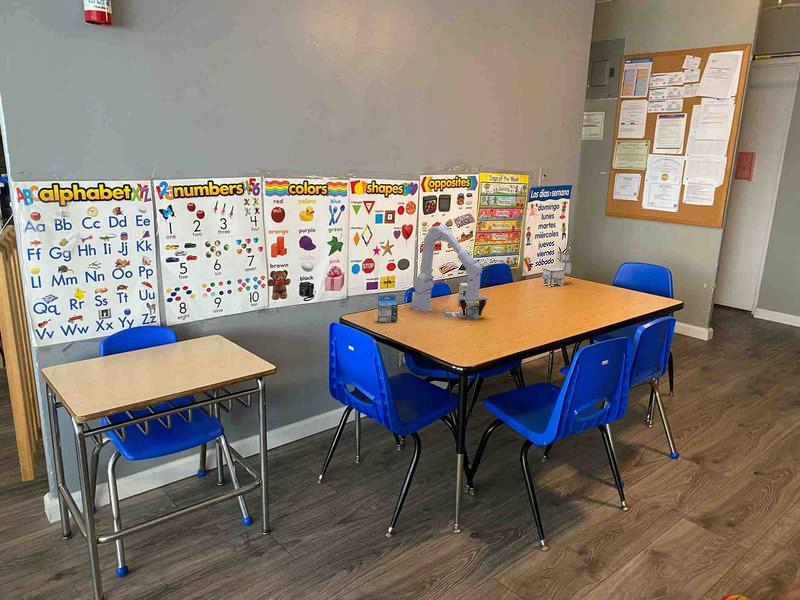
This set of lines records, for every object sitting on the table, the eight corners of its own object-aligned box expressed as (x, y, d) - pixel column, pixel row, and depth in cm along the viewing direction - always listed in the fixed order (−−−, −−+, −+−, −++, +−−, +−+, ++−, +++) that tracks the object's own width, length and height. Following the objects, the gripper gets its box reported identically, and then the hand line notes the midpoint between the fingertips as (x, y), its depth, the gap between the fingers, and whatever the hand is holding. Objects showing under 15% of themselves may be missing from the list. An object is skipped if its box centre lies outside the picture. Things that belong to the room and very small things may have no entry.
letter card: (445, 317, 287) (445, 317, 287) (441, 312, 297) (441, 311, 297) (465, 317, 288) (465, 317, 288) (461, 311, 298) (461, 311, 298)
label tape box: (379, 323, 275) (379, 297, 272) (377, 320, 279) (377, 295, 276) (397, 322, 278) (398, 296, 275) (395, 319, 282) (395, 294, 279)
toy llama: (538, 285, 362) (541, 252, 357) (560, 282, 370) (563, 251, 365) (547, 287, 356) (549, 254, 351) (569, 285, 364) (572, 253, 359)
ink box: (460, 307, 307) (461, 284, 304) (458, 304, 312) (459, 282, 309) (476, 307, 308) (477, 284, 305) (474, 304, 313) (475, 282, 310)
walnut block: (470, 315, 293) (471, 305, 292) (468, 312, 298) (469, 302, 296) (480, 315, 293) (481, 305, 292) (478, 312, 298) (478, 302, 297)
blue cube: (467, 320, 284) (468, 310, 283) (465, 317, 289) (465, 307, 288) (477, 320, 284) (478, 310, 283) (475, 317, 289) (476, 307, 288)
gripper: (459, 289, 278) (458, 317, 282) (490, 289, 280) (488, 317, 283) (457, 286, 285) (455, 313, 288) (486, 286, 287) (485, 313, 290)
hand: (471, 315), depth 286 cm, fingers open, 7 cm apart
